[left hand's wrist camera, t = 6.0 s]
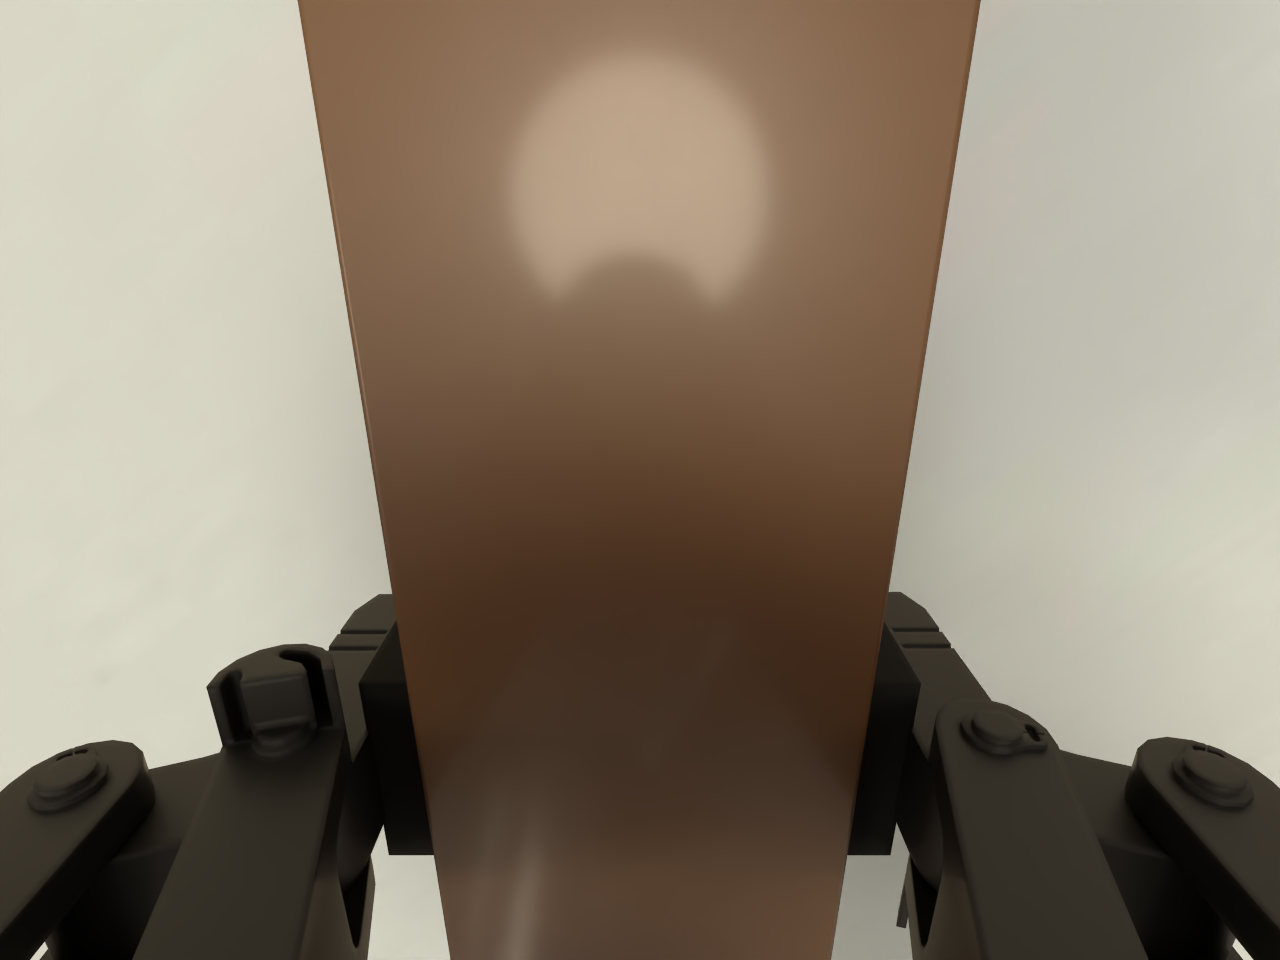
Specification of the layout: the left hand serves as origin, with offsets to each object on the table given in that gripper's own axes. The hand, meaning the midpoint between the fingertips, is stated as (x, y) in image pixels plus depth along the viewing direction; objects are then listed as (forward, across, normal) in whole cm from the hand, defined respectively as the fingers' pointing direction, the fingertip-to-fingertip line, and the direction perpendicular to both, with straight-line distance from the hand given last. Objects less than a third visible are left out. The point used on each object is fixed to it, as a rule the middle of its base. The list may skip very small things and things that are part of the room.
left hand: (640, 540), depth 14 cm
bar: (0, 0, -28) cm, 28 cm away
